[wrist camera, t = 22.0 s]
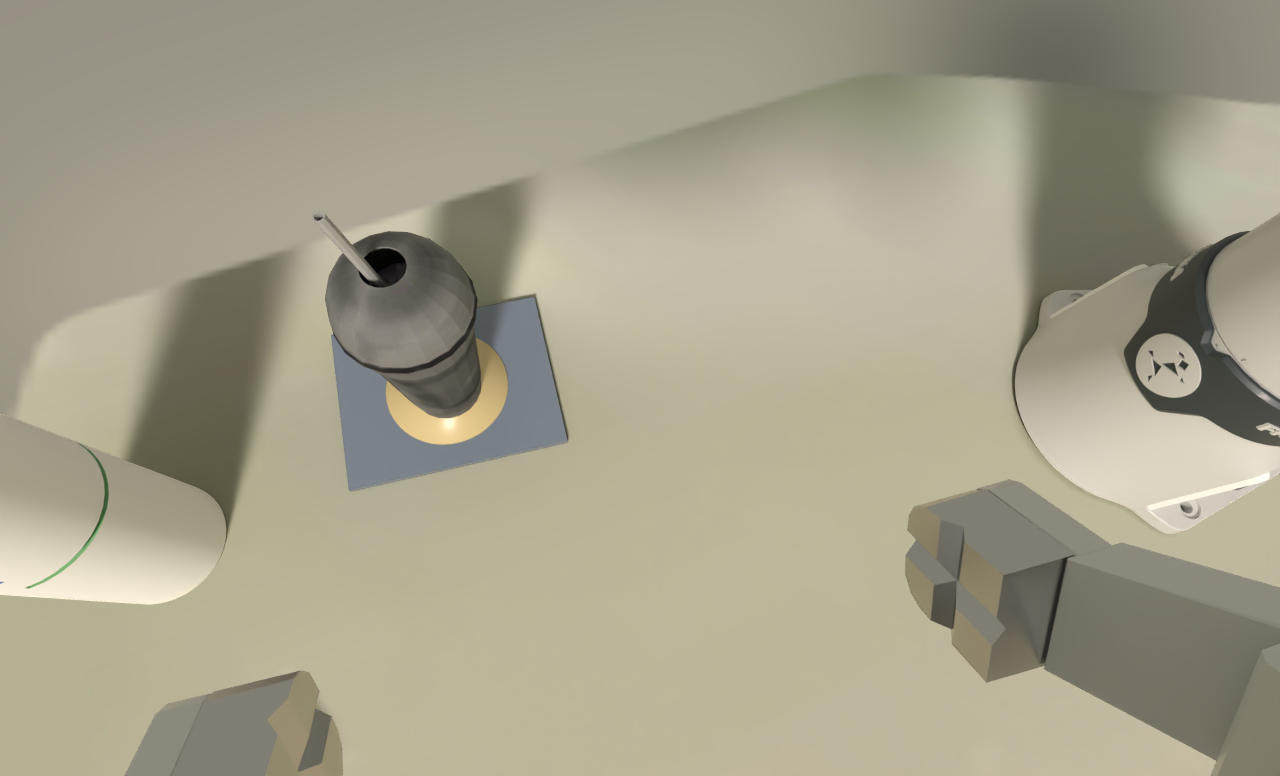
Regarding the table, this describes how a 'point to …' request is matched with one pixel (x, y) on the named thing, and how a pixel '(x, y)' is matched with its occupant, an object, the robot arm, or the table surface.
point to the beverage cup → (406, 317)
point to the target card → (493, 428)
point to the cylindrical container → (98, 523)
